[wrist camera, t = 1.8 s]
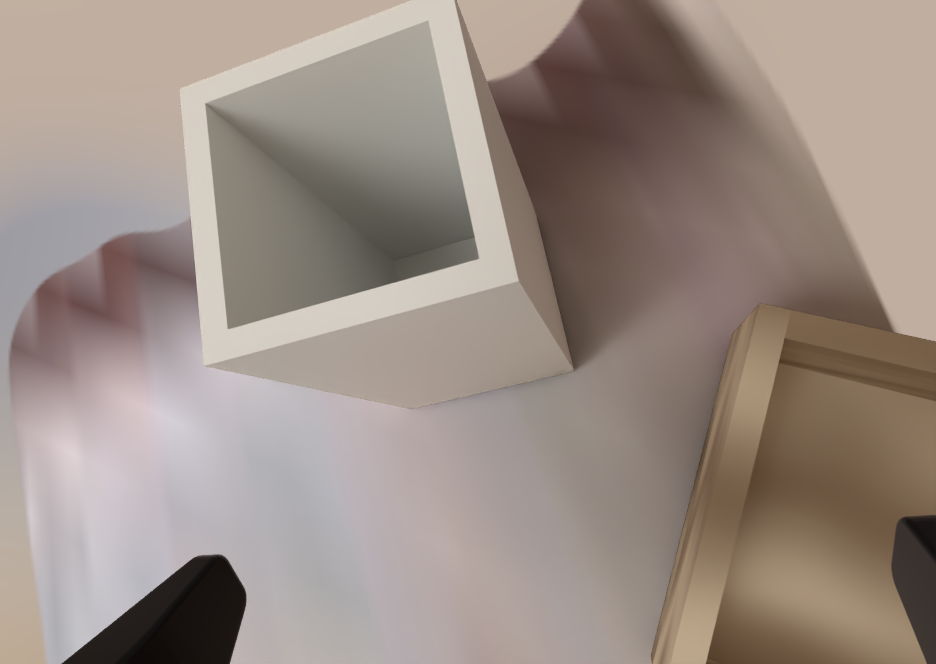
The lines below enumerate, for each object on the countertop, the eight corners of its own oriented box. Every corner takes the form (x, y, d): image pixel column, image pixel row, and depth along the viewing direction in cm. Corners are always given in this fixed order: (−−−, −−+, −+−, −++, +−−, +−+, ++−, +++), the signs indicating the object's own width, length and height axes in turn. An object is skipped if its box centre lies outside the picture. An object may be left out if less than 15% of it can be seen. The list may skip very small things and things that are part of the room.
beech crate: (1061, 819, 16) (1217, 950, 12) (650, 655, 19) (658, 712, 15) (1127, 427, 18) (1289, 419, 13) (732, 334, 21) (759, 303, 16)
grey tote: (574, 371, 22) (518, 281, 10) (411, 409, 23) (204, 366, 12) (535, 213, 23) (450, -15, 12) (385, 256, 25) (179, 88, 13)
